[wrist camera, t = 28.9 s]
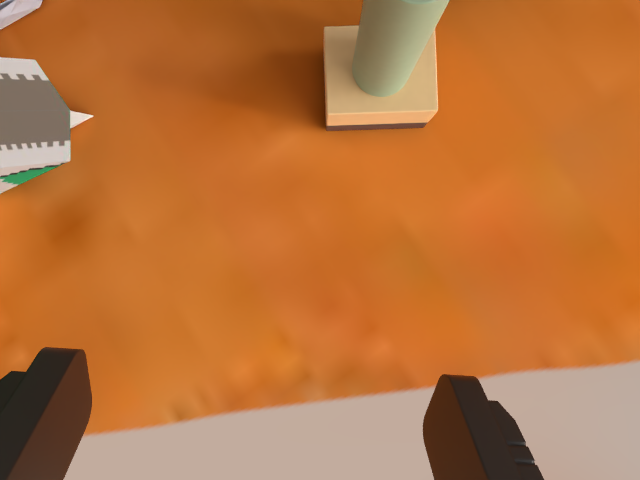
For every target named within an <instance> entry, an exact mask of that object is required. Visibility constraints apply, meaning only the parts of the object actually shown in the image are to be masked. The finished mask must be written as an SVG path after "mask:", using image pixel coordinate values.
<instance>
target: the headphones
mask: <svg viewBox="0 0 640 480" xmlns="http://www.w3.org/2000/svg"><path fill="white" fill-rule="evenodd" d="M42 1H43V0H6V1H4V2H3V3H1V4H0V30H1V29H3V28H5V27H6V26H8V25H10V24H11V23H13V22H15V21H17V20H18V19H20V18H22V17H24V16H25V15H27V14H29V13H31V12H32V11H34V10H36V9H38V8H39V7H40V5H41V3H42Z"/></svg>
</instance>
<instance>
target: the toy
mask: <svg viewBox="0 0 640 480" xmlns="http://www.w3.org/2000/svg"><path fill="white" fill-rule="evenodd" d="M91 117H93V115H89V114H84V113H79V112H74V111H70V109H69V108H68V107H67V105H66V104H65V102H64V101H63V99H62V98H61V96H60V95H59V94H58V92H57V91H56V89H55V88H54V86H53V85H52V84H51V82H50V81H49V79H48V78H47V76H46V75H45V73H44V72H43V71H42V69H41V68H40V66H39V65H38V63H37V62H36V60H31V59H17V58H2V57H0V193H2V192H5V191H7V190H9V189H11V188H13V187H15V186H17V185H20V184H22V183H24V182H26V181H28V180H30V179H32V178H34V177H37V176H39V175H41V174H43V173H45V172H47V171H49V170H52V169H54V168H56V167H58V166H60V165H62V164H64V163H67V162H69V161H70V129H71V128H73V127H75V126H76V125H78V124H80V123H82V122H84V121H86V120H87V119H89V118H91Z"/></svg>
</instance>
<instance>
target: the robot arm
mask: <svg viewBox="0 0 640 480" xmlns="http://www.w3.org/2000/svg"><path fill="white" fill-rule="evenodd" d="M91 407H92V394H91V387H90V380H89V374H88V367H87V360H86V354H85V352H84V350H81V349H66V348H51V347H45V348H43V349H42V350H41V351H40V352H39V353H38V354H37V356H36V357H35V359H34V361H33V362H32V364H31V365H30V367H29V368H28V370H27V371H26V372H18V371H11V372H10V373H8V374H7V375H6V376H5V377H3V378H2V379H1V380H0V480H63V479H64V477H65V475H66V472H67V470H68V468H69V465H70V463H71V461H72V459H73V456H74V454H75V452H76V450H77V447H78V445H79V443H80V441H81V438H82V436H83V434H84V431H85V429H86V427H87V424H88V421H89V418H90V413H91ZM423 437H424V443H425V447H426V451H427V454H428V458H429V462H430V465H431V469H432V473H433V476H434V480H544V479H543V476H542V474H541V472H540V470H539V468H538V466H537V465H535V463H534V458H533V456H532V454H531V452H530V450H529V448H528V447H526V444H525V443H526V442H525V440H524V438H523V436H522V434H521V432H520V429H519V427H518V425H517V424H516V422H515V420H514V419H513V418H512V416H510V414H509V413H508V412H507V411H506V410H505V409H504V408H503V407H502V406H501V404H500V403H499V402H498V401H488V399H487V397H486V395H485V393H484V391H483V388H482V386H481V384H480V382H479V380H478V379H477V378H476V377H474V376H461V375H445V374H443V375H442V376H441V377H440V378H439V380H438V383H437V385H436V388H435V391H434V393H433V396H432V398H431V401H430V403H429V406H428V409H427V411H426V414H425V417H424V422H423Z"/></svg>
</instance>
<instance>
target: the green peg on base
mask: <svg viewBox="0 0 640 480" xmlns="http://www.w3.org/2000/svg"><path fill="white" fill-rule="evenodd" d="M448 2H449V0H363V6H362V12H361V18H360V23H359V25H357V26H327V27H324V50H323V57H324V86H325V116H326V131H339V130H369V129H399V128H423V127H424V126H425V125H426V124H427V122H428V121H429V120H430V119H431V118H432V117H433V116H434V115H435V113H436V112H437V111H438V95H437V68H436V41H435V27H436V25H437V23H438V21H439V19H440V18H441V16H442V14H443V12H444V10H445V8H446V6H447V4H448Z"/></svg>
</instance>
